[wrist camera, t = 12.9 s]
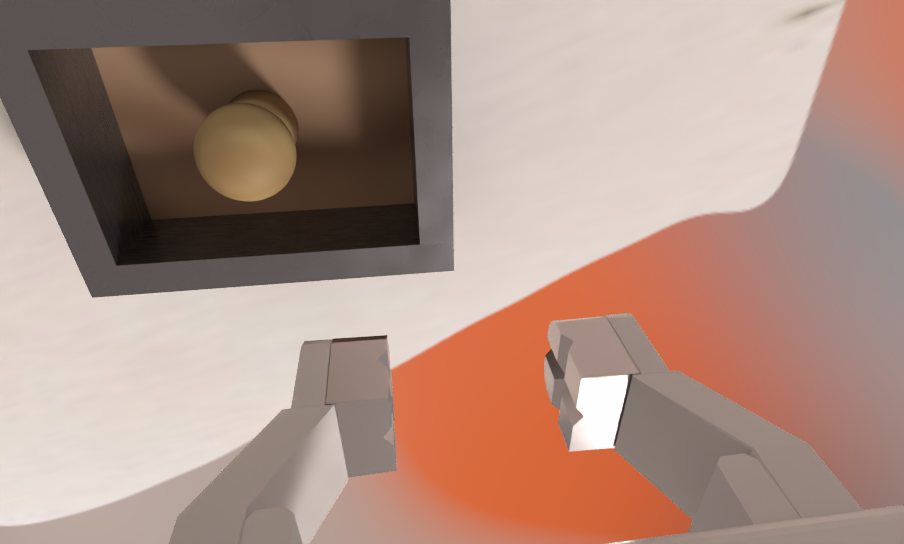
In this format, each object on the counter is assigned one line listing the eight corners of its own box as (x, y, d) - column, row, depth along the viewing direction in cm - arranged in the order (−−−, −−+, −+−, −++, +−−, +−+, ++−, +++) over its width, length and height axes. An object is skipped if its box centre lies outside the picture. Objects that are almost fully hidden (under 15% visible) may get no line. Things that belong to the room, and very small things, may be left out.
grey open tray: (29, -12, 19) (-44, 1, 16) (438, -22, 21) (450, -11, 17) (129, 248, 25) (92, 297, 22) (443, 227, 27) (453, 270, 23)
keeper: (34, -67, 20) (-98, -64, 14) (416, -72, 21) (430, -72, 16) (153, 259, 27) (97, 343, 22) (428, 240, 29) (441, 315, 23)
